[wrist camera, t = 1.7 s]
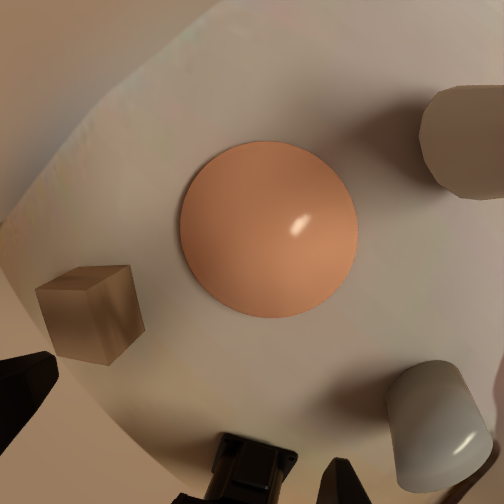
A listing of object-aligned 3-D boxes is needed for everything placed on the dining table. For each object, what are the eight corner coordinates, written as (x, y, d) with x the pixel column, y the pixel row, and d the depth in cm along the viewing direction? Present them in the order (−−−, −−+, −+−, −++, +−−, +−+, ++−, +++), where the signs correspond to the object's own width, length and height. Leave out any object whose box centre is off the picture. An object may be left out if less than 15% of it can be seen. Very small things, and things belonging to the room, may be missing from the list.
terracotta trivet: (325, 331, 19) (324, 337, 18) (174, 283, 20) (169, 288, 20) (378, 170, 16) (380, 171, 15) (204, 126, 17) (199, 124, 17)
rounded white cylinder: (435, 426, 20) (453, 492, 13) (372, 416, 20) (378, 490, 14) (475, 367, 18) (510, 432, 11) (409, 352, 18) (434, 426, 12)
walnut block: (145, 329, 22) (108, 365, 18) (95, 325, 23) (57, 355, 19) (130, 264, 21) (85, 290, 16) (79, 266, 22) (34, 289, 17)
